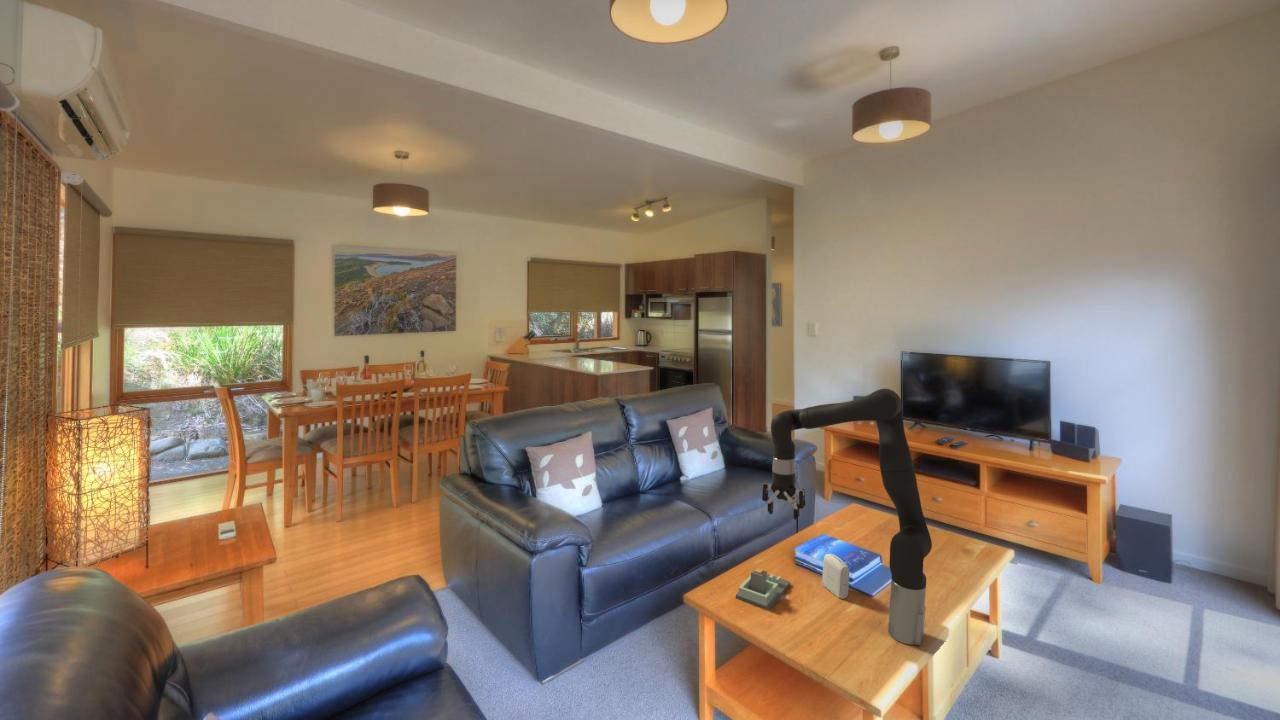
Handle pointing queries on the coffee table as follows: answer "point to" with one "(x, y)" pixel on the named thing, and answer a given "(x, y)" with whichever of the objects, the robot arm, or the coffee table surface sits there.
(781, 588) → the board
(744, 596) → the end holder
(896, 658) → the coffee table surface
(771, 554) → the coffee table surface
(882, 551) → the coffee table surface
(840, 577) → the photo printer
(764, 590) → the block
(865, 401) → the robot arm
